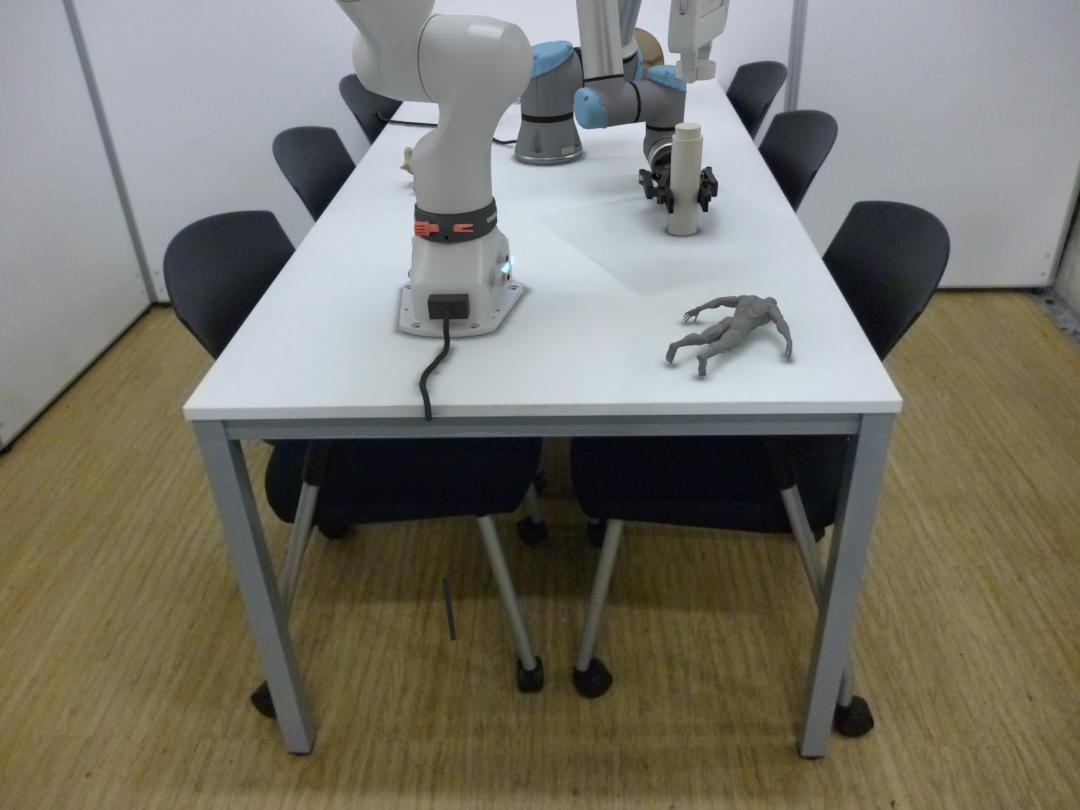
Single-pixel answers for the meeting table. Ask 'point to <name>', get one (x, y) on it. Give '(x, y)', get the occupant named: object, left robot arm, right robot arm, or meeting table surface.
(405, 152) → the bone
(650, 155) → the right robot arm
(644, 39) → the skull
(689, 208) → the jar
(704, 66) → the lid
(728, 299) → the figurine
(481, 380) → the meeting table surface
